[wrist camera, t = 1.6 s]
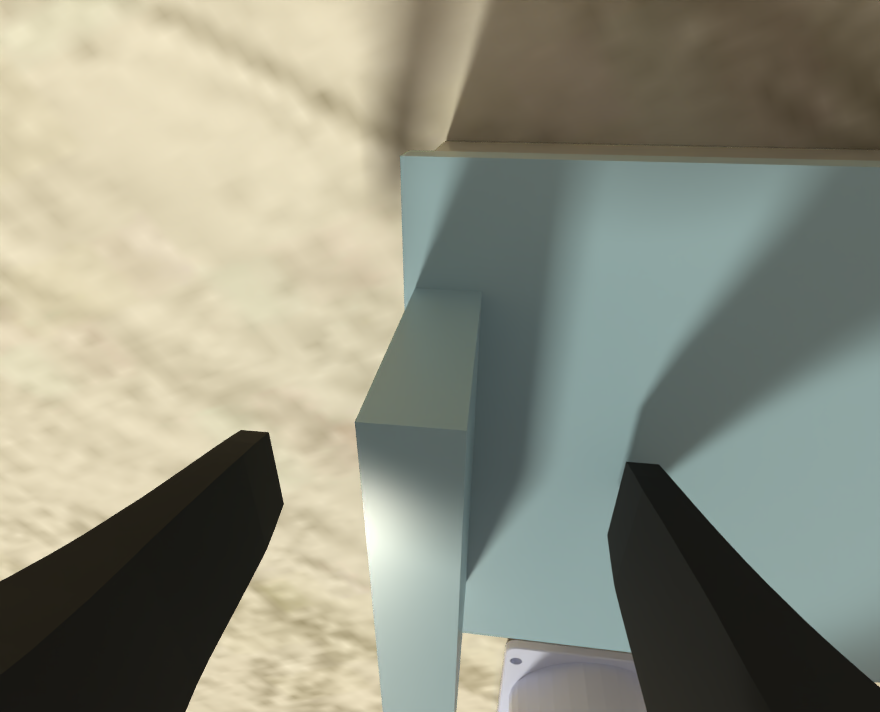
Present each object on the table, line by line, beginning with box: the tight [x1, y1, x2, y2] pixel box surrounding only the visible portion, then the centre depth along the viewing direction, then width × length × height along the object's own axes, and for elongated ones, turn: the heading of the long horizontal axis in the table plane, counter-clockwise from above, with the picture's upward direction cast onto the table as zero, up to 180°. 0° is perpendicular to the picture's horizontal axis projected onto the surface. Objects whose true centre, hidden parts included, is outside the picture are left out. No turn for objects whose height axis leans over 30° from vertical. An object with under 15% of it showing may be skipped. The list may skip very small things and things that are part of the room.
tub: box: [435, 141, 880, 161], centre depth 12 cm, size 12×20×4 cm, turn 90°
